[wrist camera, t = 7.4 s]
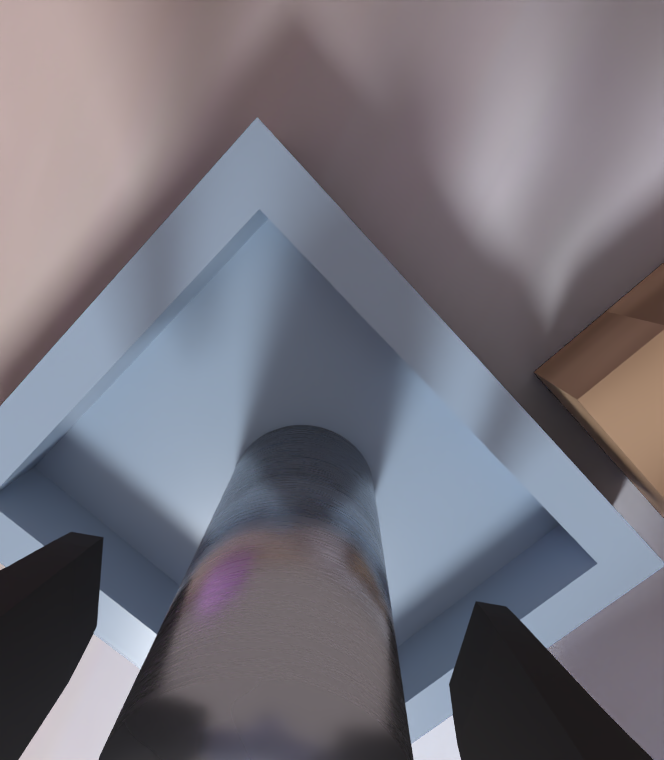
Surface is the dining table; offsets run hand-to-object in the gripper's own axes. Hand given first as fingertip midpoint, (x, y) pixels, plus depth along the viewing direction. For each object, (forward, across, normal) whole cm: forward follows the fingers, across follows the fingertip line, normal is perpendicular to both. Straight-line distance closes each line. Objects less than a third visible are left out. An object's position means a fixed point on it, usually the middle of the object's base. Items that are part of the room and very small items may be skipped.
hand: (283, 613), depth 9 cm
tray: (+5, 0, 0) cm, 5 cm away
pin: (+5, 0, 0) cm, 5 cm away
